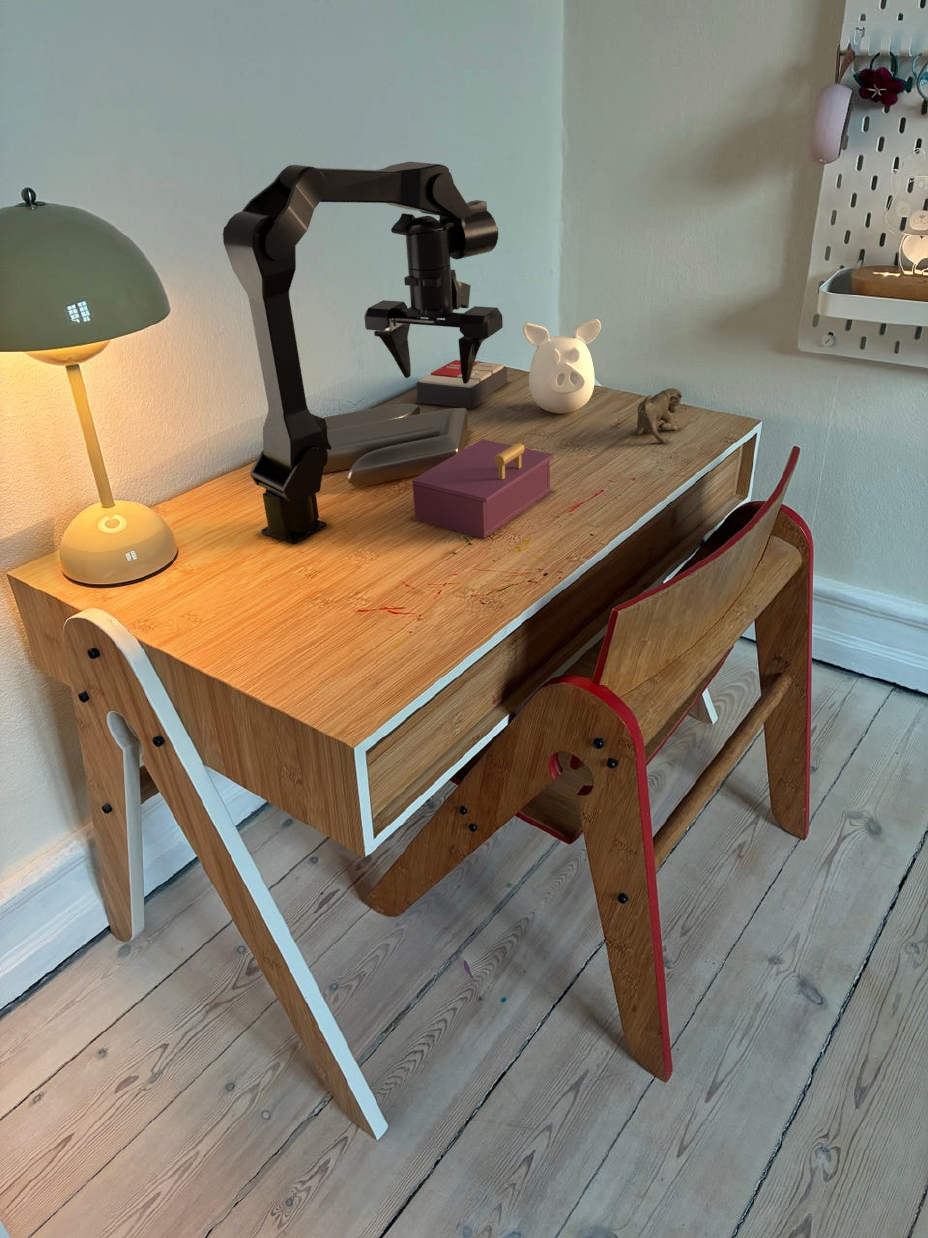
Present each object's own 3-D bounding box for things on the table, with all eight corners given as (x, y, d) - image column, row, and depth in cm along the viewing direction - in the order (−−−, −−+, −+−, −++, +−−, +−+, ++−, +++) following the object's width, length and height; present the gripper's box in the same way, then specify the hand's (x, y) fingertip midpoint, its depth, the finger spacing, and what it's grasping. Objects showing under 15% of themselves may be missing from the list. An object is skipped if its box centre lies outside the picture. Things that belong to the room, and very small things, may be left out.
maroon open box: (550, 492, 137) (549, 457, 134) (484, 538, 125) (482, 502, 123) (483, 476, 142) (482, 443, 140) (415, 519, 131) (412, 484, 129)
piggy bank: (545, 429, 157) (545, 336, 149) (516, 407, 166) (514, 319, 159) (613, 415, 161) (616, 324, 153) (581, 395, 170) (582, 308, 162)
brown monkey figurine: (659, 447, 148) (662, 400, 144) (625, 441, 151) (627, 395, 147) (691, 422, 156) (694, 377, 152) (658, 416, 159) (661, 372, 155)
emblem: (376, 381, 166) (510, 408, 151) (379, 411, 168) (510, 441, 153) (254, 434, 147) (392, 471, 132) (260, 466, 150) (396, 506, 135)
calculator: (507, 362, 176) (471, 384, 164) (507, 386, 178) (472, 409, 166) (453, 357, 180) (415, 378, 169) (454, 380, 182) (416, 402, 171)
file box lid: (553, 458, 133) (553, 430, 131) (486, 502, 122) (485, 473, 120) (482, 442, 140) (481, 416, 138) (412, 483, 129) (409, 455, 126)
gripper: (516, 255, 132) (518, 368, 140) (395, 250, 139) (404, 358, 147) (484, 273, 123) (488, 392, 132) (357, 267, 130) (368, 380, 139)
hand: (436, 379), depth 137 cm, fingers open, 9 cm apart
